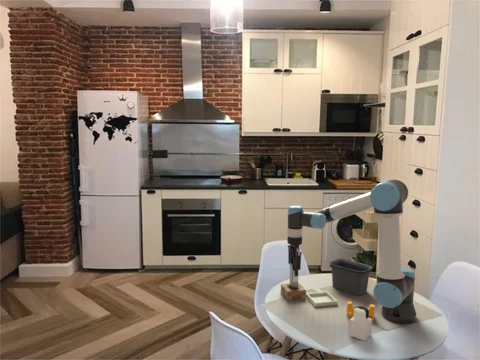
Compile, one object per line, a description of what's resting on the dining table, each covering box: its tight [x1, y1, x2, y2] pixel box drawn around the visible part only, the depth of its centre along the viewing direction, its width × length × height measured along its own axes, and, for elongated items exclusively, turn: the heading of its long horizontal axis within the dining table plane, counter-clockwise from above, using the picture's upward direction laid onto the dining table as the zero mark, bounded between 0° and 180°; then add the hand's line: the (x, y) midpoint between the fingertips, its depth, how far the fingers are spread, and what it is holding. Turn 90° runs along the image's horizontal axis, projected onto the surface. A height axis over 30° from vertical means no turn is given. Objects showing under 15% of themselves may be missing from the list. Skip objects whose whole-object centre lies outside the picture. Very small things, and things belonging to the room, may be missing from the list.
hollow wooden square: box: [280, 282, 307, 302], centre depth 205 cm, size 10×10×5 cm
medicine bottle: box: [348, 305, 373, 342], centre depth 166 cm, size 7×7×12 cm
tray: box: [306, 290, 339, 308], centre depth 200 cm, size 12×12×2 cm
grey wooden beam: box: [289, 263, 299, 289], centre depth 204 cm, size 3×3×14 cm
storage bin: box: [328, 257, 373, 296], centre depth 215 cm, size 21×16×14 cm
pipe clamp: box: [346, 300, 376, 321], centre depth 184 cm, size 12×4×6 cm, turn 73°
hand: (293, 280), depth 204 cm, fingers closed on grey wooden beam, 3 cm apart
